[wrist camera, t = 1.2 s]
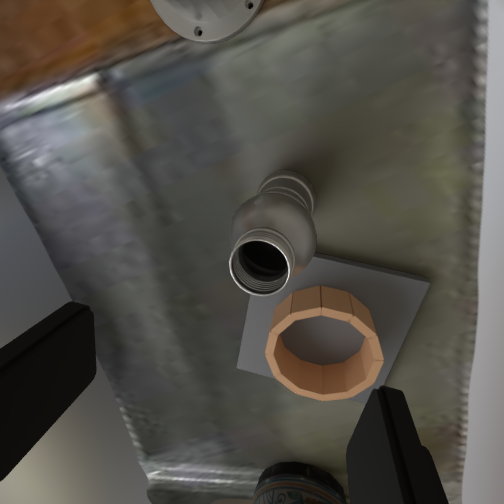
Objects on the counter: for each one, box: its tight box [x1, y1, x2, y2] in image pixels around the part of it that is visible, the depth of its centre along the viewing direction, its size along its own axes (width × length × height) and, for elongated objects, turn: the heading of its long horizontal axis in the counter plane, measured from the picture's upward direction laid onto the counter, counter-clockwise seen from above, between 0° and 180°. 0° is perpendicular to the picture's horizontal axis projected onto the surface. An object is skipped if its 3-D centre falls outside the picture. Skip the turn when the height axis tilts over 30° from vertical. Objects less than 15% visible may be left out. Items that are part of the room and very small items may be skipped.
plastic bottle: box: [229, 170, 317, 297], centre depth 26 cm, size 6×7×20 cm
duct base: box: [237, 252, 430, 404], centre depth 38 cm, size 20×20×6 cm
